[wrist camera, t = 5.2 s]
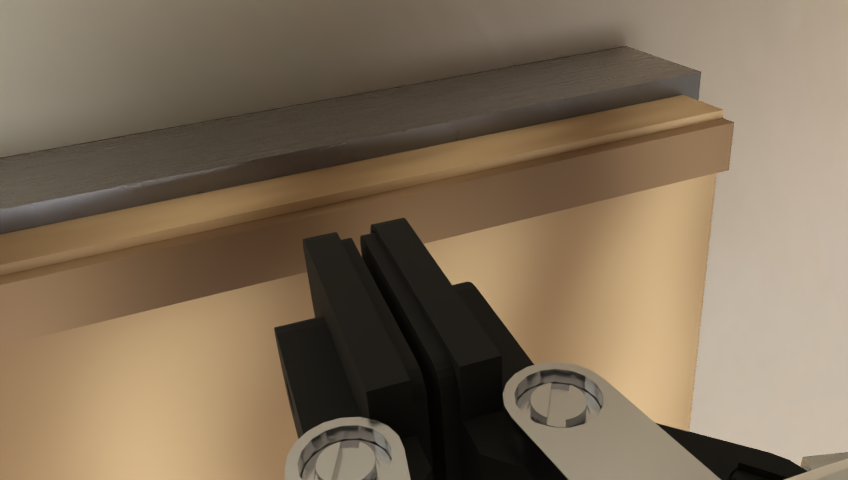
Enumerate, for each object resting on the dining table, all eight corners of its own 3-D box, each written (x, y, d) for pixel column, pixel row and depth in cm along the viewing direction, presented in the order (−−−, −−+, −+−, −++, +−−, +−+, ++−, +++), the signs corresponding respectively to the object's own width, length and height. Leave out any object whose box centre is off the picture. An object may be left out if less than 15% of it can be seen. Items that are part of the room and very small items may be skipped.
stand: (661, 39, 22) (739, 64, 19) (630, 466, 30) (683, 527, 27) (-332, 217, 16) (-427, 293, 13) (-36, 705, 23) (-55, 817, 21)
